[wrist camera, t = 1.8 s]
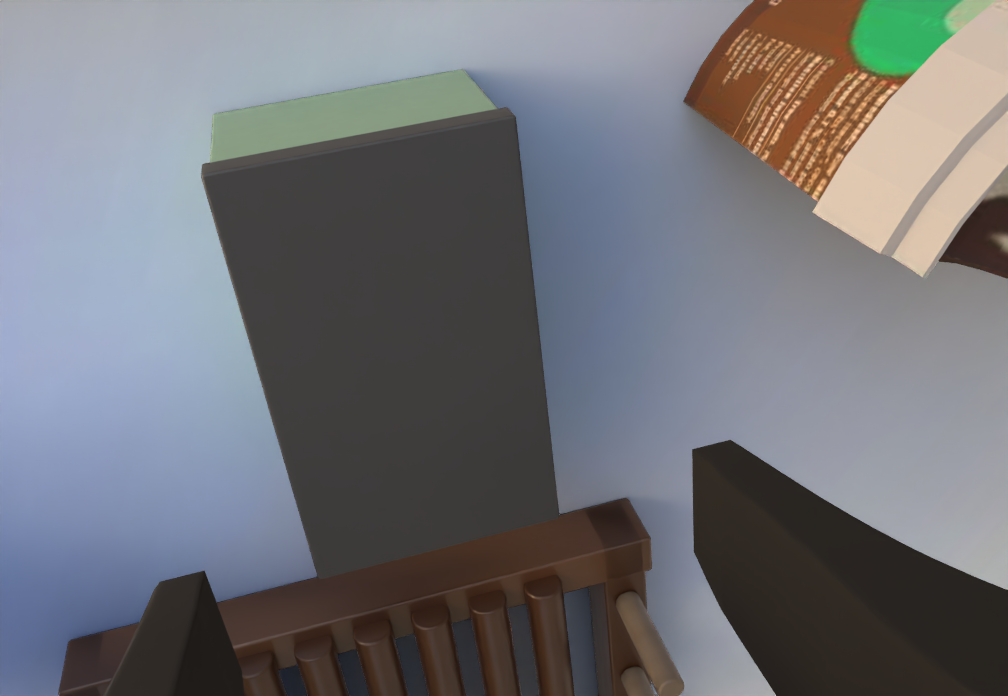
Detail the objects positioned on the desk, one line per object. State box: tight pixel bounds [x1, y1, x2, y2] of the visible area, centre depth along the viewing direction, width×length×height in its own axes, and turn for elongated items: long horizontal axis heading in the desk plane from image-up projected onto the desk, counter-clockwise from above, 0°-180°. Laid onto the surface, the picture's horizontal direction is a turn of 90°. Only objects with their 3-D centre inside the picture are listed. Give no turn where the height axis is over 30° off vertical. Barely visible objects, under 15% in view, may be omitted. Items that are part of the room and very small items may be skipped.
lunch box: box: [201, 69, 559, 579], centre depth 20 cm, size 5×9×4 cm, turn 6°
